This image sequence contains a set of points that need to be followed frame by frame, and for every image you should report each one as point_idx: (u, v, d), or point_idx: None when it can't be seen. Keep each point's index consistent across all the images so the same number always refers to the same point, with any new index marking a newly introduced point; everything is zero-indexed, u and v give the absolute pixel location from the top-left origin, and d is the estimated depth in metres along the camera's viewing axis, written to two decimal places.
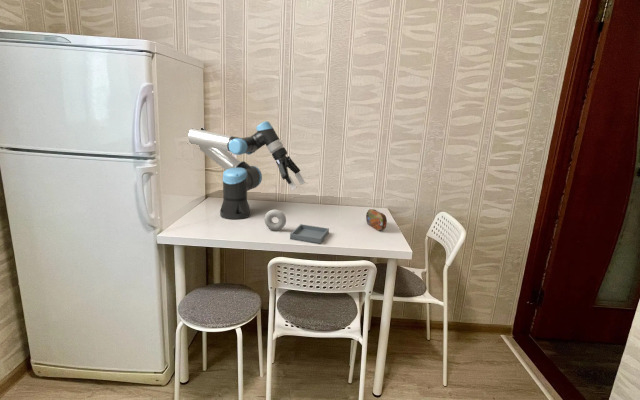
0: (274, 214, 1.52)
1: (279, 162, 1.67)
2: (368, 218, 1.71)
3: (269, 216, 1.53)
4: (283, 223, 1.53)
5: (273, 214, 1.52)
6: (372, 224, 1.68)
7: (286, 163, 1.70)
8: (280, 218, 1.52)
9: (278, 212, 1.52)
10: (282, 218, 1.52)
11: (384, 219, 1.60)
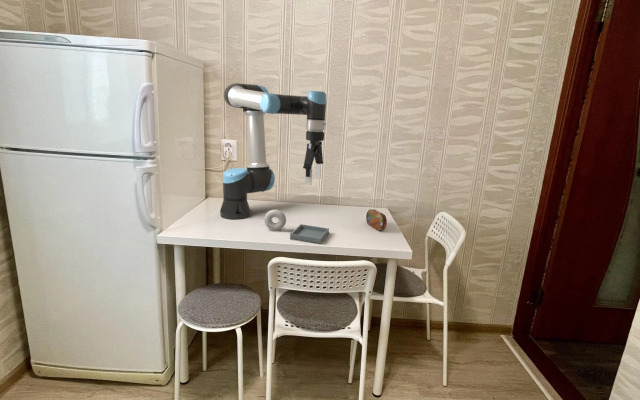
0: (274, 214, 1.52)
1: (310, 147, 1.34)
2: (368, 218, 1.71)
3: (269, 216, 1.53)
4: (283, 223, 1.53)
5: (273, 214, 1.52)
6: (372, 224, 1.68)
7: (316, 151, 1.38)
8: (280, 218, 1.52)
9: (278, 212, 1.52)
10: (282, 218, 1.52)
11: (384, 219, 1.60)
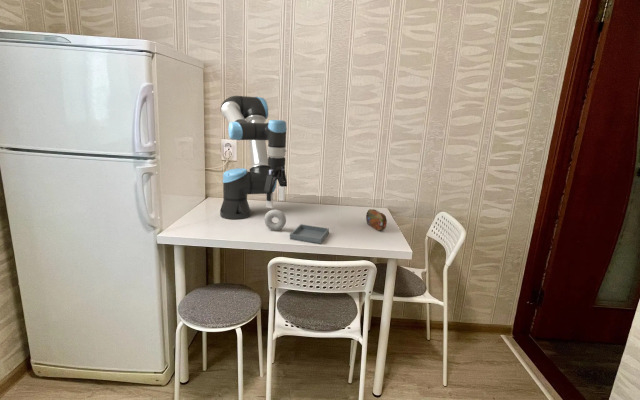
0: (274, 214, 1.52)
1: (270, 173, 1.42)
2: (368, 218, 1.71)
3: (269, 216, 1.53)
4: (283, 223, 1.53)
5: (273, 214, 1.52)
6: (372, 224, 1.68)
7: (277, 177, 1.46)
8: (280, 218, 1.52)
9: (278, 212, 1.52)
10: (282, 218, 1.52)
11: (384, 219, 1.60)
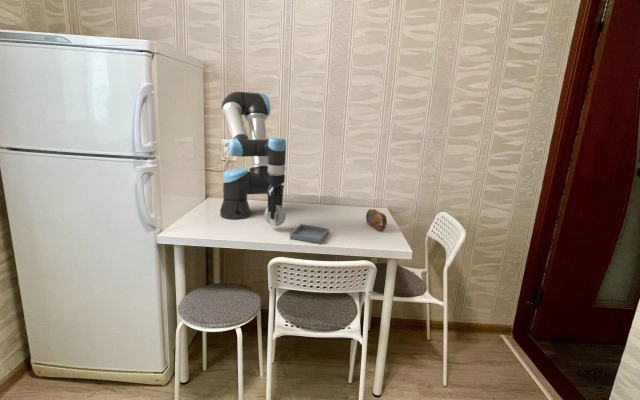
0: None
1: (271, 195, 1.45)
2: (368, 218, 1.71)
3: None
4: (282, 219, 1.52)
5: None
6: (372, 224, 1.68)
7: (277, 194, 1.49)
8: (279, 214, 1.52)
9: (277, 208, 1.52)
10: (281, 214, 1.52)
11: (384, 219, 1.60)
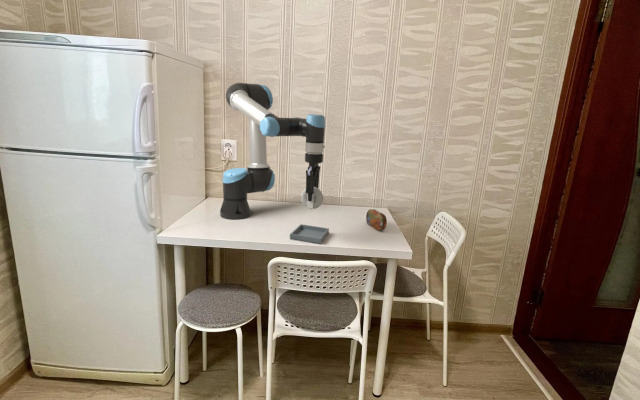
0: None
1: (309, 174, 1.38)
2: (368, 218, 1.71)
3: (306, 193, 1.45)
4: (320, 201, 1.44)
5: None
6: (372, 224, 1.68)
7: (315, 174, 1.41)
8: (317, 195, 1.44)
9: (315, 189, 1.44)
10: (319, 196, 1.44)
11: (384, 219, 1.60)
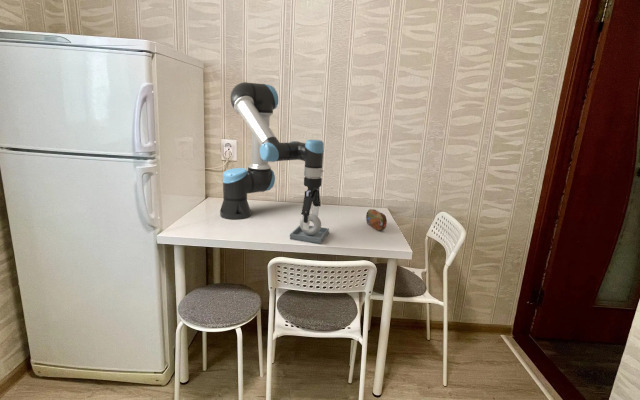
0: None
1: (308, 195, 1.39)
2: (368, 218, 1.71)
3: None
4: (318, 228, 1.48)
5: None
6: (372, 224, 1.68)
7: (313, 197, 1.43)
8: (315, 223, 1.47)
9: (313, 216, 1.47)
10: (317, 223, 1.47)
11: (384, 219, 1.60)
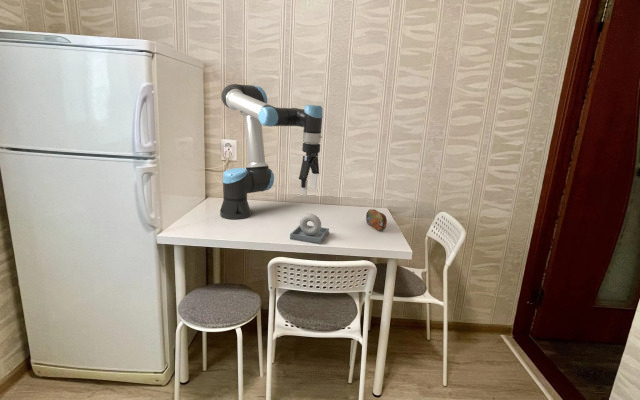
0: (309, 218, 1.47)
1: (306, 160, 1.39)
2: (368, 218, 1.71)
3: (304, 220, 1.48)
4: (318, 228, 1.48)
5: (308, 218, 1.47)
6: (372, 224, 1.68)
7: (312, 163, 1.43)
8: (315, 223, 1.47)
9: (313, 217, 1.47)
10: (317, 223, 1.47)
11: (384, 219, 1.60)
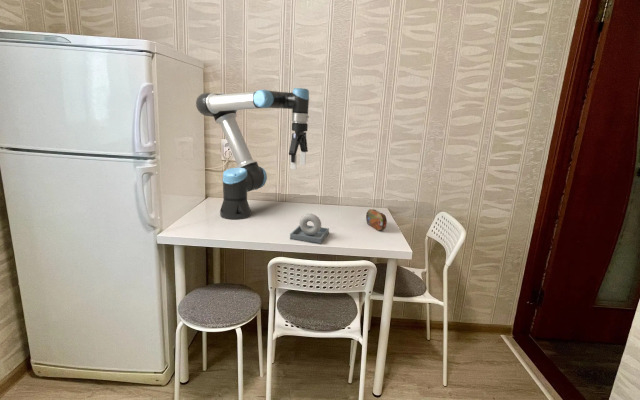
0: (309, 218, 1.47)
1: (295, 137, 1.56)
2: (368, 218, 1.71)
3: (304, 220, 1.48)
4: (318, 228, 1.48)
5: (308, 218, 1.47)
6: (372, 224, 1.68)
7: (300, 140, 1.60)
8: (315, 223, 1.47)
9: (313, 217, 1.47)
10: (317, 223, 1.47)
11: (384, 219, 1.60)
